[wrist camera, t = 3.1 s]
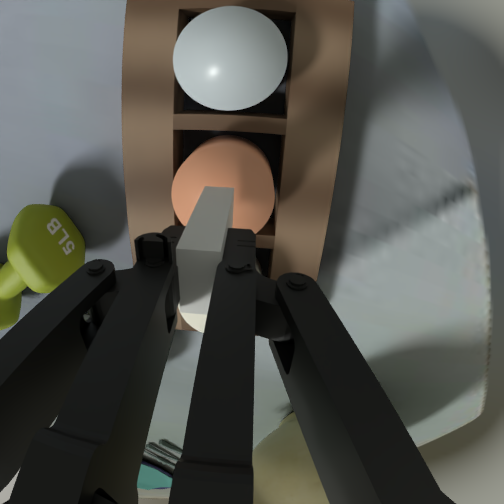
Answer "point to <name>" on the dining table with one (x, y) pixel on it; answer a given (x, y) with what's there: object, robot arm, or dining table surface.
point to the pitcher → (286, 468)
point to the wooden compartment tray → (239, 122)
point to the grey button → (230, 58)
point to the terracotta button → (227, 180)
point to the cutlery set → (156, 469)
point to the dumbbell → (38, 256)
